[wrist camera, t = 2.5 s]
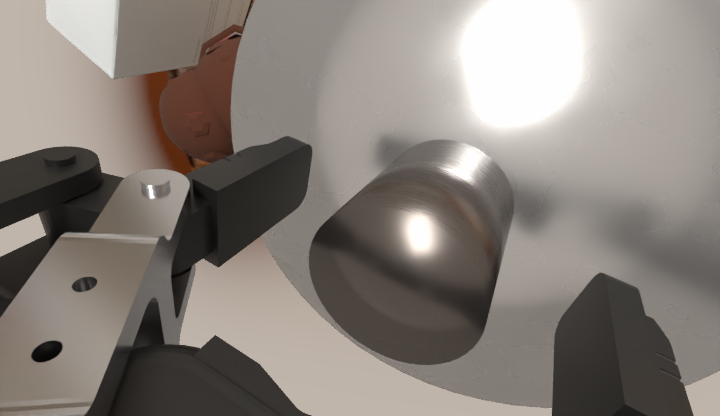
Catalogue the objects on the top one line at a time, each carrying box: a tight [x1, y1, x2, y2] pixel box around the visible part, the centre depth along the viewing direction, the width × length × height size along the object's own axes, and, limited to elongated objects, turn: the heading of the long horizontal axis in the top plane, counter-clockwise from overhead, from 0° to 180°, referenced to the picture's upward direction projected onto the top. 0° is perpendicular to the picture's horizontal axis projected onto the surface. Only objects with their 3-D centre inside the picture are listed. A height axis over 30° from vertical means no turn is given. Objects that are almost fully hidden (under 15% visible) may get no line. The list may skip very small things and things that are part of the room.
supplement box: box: [46, 0, 251, 79], centre depth 30 cm, size 7×7×13 cm
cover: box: [231, 0, 720, 408], centre depth 17 cm, size 17×17×24 cm
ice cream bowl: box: [159, 24, 244, 163], centre depth 28 cm, size 11×11×15 cm
